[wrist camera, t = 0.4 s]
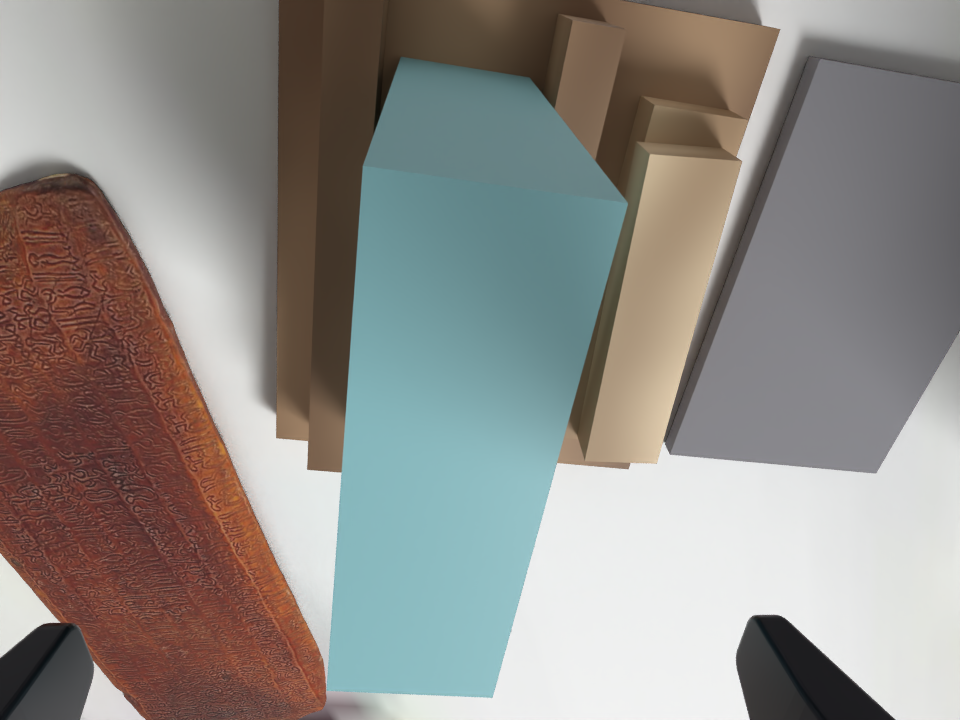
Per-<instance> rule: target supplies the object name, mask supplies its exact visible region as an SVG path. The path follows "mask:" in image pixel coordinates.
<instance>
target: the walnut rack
mask: <svg viewBox="0 0 960 720" xmlns="http://www.w3.org/2000/svg"><path fill="white" fill-rule="evenodd" d="M779 31H780V29H776V28H771V27H767V26H762V25H756V24H751V23H745V22H740V21H734V20H729V19H723V18H718V17H712V16H706V15H701V14H695V13H690V12H684V11H679V10H673V9H668V8H662V7H657V6H651V5H646V4H640V3H635V2H629V1H624V0H279V75H278V246H277V416H276V438H281V439H292V440H303V441H308V466H307V470H318V471H330V472H342V461H343V446H344V432H345V417H346V403H347V389H348V374H349V360H350V345H351V331H352V316H353V302H354V287H355V273H356V259H357V244H358V230H359V215H360V201H361V186H362V172H363V164H364V161H365V158H366V156H367V153H368V150H369V147H370V144H371V141H372V138H373V136H374V133H375V130H376V127H377V124H378V121H379V118H380V115H381V113H382V110H383V107H384V104H385V101H386V98H387V95H388V93H389V90H390V87H391V84H392V81H393V78H394V75H395V72H396V70H397V67H398V64H399V61H400V58H401V57H406V58H412V59H419V60H425V61H431V62H437V63H443V64H449V65H455V66H462V67H468V68H474V69H480V70H486V71H492V72H498V73H504V74H511V75H517V76H523V77H529V78H530V79H531V80H532V81H533V82H534V84H535V85H536V86H537V88H538V89H539V90H540V91H541V93H542V94H543V95H544V96H545V98H546V99H547V100H548V102H549V103H550V104H551V105H552V107H553V108H554V109H555V111H556V112H557V113H558V114H559V116H560V117H561V118H562V119H563V121H564V122H565V123H566V125H567V126H568V127H569V128H570V130H571V131H572V132H573V133H574V135H575V136H576V137H577V139H578V140H579V141H580V142H581V144H582V145H583V146H584V147H585V149H586V150H587V151H588V153H589V154H590V155H591V156H592V158H593V159H594V160H595V162H596V163H597V164H598V165H599V167H600V168H601V169H602V170H603V172H604V173H605V174H606V176H607V177H608V178H609V179H610V181H611V182H612V183H613V184H614V186H615V187H616V188H617V185H618V181H619V177H620V174H621V170H622V166H623V162H624V158H625V155H626V151H627V147H628V143H629V139H630V136H631V132H632V128H633V124H634V120H635V117H636V113H637V109H638V105H639V101H640V97H641V96H646V97H652V98H658V99H664V100H670V101H676V102H682V103H689V104H695V105H701V106H707V107H713V108H719V109H725V110H730V111H732V112H734V113H736V114H738V115H740V116H742V117H744V118H746V119H747V120H749V118H750V115H751V113H752V110H753V107H754V104H755V101H756V98H757V95H758V92H759V89H760V86H761V84H762V81H763V78H764V75H765V72H766V69H767V66H768V63H769V60H770V57H771V55H772V52H773V49H774V46H775V43H776V40H777V37H778V34H779ZM745 130H746V129H745ZM744 133H745V132H744ZM743 136H744V135H743ZM742 139H743V138H742ZM736 156H737V155H736ZM557 463H564V464H575V465H587V466H598V467H609V468H621V469H629V466H630V463H623V462H592V461H585V460H584V457H583V453H582V450H581V447H580V443H579V440H578V439H571V438H564V439H563V443H562V446H561V450H560V454H559V457H558V461H557Z"/></svg>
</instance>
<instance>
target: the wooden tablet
mask: <svg viewBox="0 0 960 720" xmlns="http://www.w3.org/2000/svg"><path fill="white" fill-rule="evenodd" d="M0 553H1V554H2V556H3V557H4V558H5V559H6V560H7V561H8V563H9V564H10V565H11V566H12V567H13V568H14V569H15V570H16V571H17V573H18V574H19V575H20V576H21V577H22V579H23V580H24V581H25V582H26V583H27V584H28V585H29V587H30V588H31V589H32V590H33V591H34V593H35V594H36V595H37V596H38V598H39V599H40V600H41V601H42V602H43V603H44V605H45V606H46V607H47V608H48V609H49V610H50V611H51V613H52V614H53V615H54V616H55V617H56V618H57V619H58V620H59V621H60V622H61V623H75V624H76V625H78V626H79V627H80V629H81V632H82V634H83V637H84V639H85V642H86V644H87V647H88V649H89V652H90V654H91V657H92V659H93V661H94V662H95V663H96V664H97V665H98V666H99V668H100V669H101V670H102V672H103V673H104V674H105V675H106V676H107V677H108V679H109V680H110V681H111V682H112V684H113V685H114V686H115V687H116V688H117V689H119V690H120V691H122V692H123V693H124V697H125V698H126V699H127V700H128V701H129V702H130V703H131V704H132V705H133V707H134V708H135V709H136V710H137V711H138V712H139V714H140V715H141V716H143V717H144V718H145V719H146V720H297V719H299V718H301V717H304V716H306V715H308V714H310V713H313V712H316V711H319V710H322V709H323V707H324V706H325V702H326V683H325V671H324V663H323V658H322V656H321V654H320V651H319V649H318V646H317V644H316V642H315V640H314V638H313V636H312V634H311V632H310V630H309V628H308V626H307V624H306V622H305V620H304V618H303V616H302V614H301V612H300V610H299V607H298V605H297V603H296V600H295V598H294V596H293V595H292V592H291V590H290V588H289V586H288V585H287V583H286V580H285V578H284V576H283V574H282V573H281V571H280V570H279V567H278V565H277V563H276V561H275V558H274V556H273V554H272V552H271V551H270V548H269V546H268V543H267V541H266V539H265V536H264V534H263V532H262V530H261V528H260V526H259V524H258V522H257V520H256V517H255V515H254V512H253V510H252V508H251V505H250V503H249V501H248V499H247V497H246V495H245V492H244V490H243V488H242V486H241V483H240V481H239V478H238V476H237V474H236V471H235V469H234V467H233V464H232V462H231V459H230V456H229V454H228V451H227V449H226V446H225V444H224V442H223V440H222V439H221V437H220V435H219V433H218V431H217V429H216V426H215V424H214V422H213V420H212V418H211V415H210V413H209V411H208V408H207V406H206V403H205V401H204V398H203V396H202V394H201V392H200V389H199V387H198V385H197V383H196V381H195V379H194V377H193V374H192V372H191V370H190V367H189V365H188V362H187V360H186V357H185V354H184V351H183V349H182V347H181V345H180V343H179V340H178V337H177V335H176V332H175V329H174V325H173V323H172V321H171V320H170V318H169V317H168V315H167V312H166V310H165V308H164V306H163V304H162V301H161V299H160V296H159V294H158V292H157V289H156V287H155V285H154V282H153V280H152V278H151V276H150V274H149V272H148V270H147V268H146V266H145V264H144V262H143V261H142V259H141V257H140V255H139V253H138V251H137V249H136V247H135V245H134V243H133V242H132V240H131V238H130V236H129V234H128V232H127V231H126V229H125V228H124V227H123V225H122V224H121V222H120V220H119V217H118V215H117V214H116V213H115V211H114V210H113V209H112V207H111V206H110V204H109V203H108V202H107V200H106V199H105V197H104V194H103V193H102V191H101V190H100V189H99V188H98V187H97V185H96V184H95V183H94V182H93V181H91V180H90V179H88V178H85V177H81V176H79V175H77V174H70V173H65V174H55V175H51V176H47V177H44V178H41V179H38V180H36V181H33V182H29V183H25V184H21V185H18V186H15V187H12V188H9V189H5V190H3V191H1V192H0Z"/></svg>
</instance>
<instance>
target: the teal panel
mask: <svg viewBox="0 0 960 720" xmlns="http://www.w3.org/2000/svg"><path fill="white" fill-rule="evenodd" d="M627 206H628V202H627V201H626V200H625V198H624V197H623V196H622V195H621V193H620V192H619V191H618V190H617V188H616V187H615V186H614V184H613V183H612V182H611V181H610V179H609V178H608V177H607V176H606V174H605V173H604V172H603V170H602V169H601V168H600V167H599V165H598V164H597V163H596V162H595V160H594V159H593V158H592V156H591V155H590V154H589V153H588V151H587V150H586V149H585V147H584V146H583V145H582V144H581V142H580V141H579V140H578V139H577V137H576V136H575V135H574V133H573V132H572V131H571V130H570V128H569V127H568V126H567V125H566V123H565V122H564V121H563V119H562V118H561V117H560V116H559V114H558V113H557V112H556V111H555V109H554V108H553V107H552V105H551V104H550V103H549V102H548V100H547V99H546V98H545V96H544V95H543V94H542V93H541V91H540V90H539V89H538V88H537V86H536V85H535V84H534V82H533V81H532V80H531V79H530V78H529V77H523V76H517V75H511V74H504V73H498V72H492V71H486V70H480V69H474V68H468V67H462V66H455V65H449V64H443V63H437V62H431V61H425V60H419V59H412V58H406V57H401V58H400V61H399V64H398V67H397V70H396V72H395V75H394V78H393V81H392V84H391V87H390V90H389V93H388V95H387V98H386V101H385V104H384V107H383V110H382V113H381V115H380V118H379V121H378V124H377V127H376V130H375V133H374V136H373V138H372V141H371V144H370V147H369V150H368V153H367V156H366V158H365V161H364V164H363V172H362V186H361V201H360V215H359V230H358V244H357V259H356V273H355V287H354V302H353V316H352V331H351V345H350V360H349V374H348V389H347V403H346V417H345V432H344V446H343V461H342V475H341V490H340V504H339V519H338V533H337V548H336V562H335V576H334V591H333V605H332V620H331V634H330V649H329V663H328V678H327V691H344V692H368V693H392V694H416V695H440V696H464V697H488V698H492V697H493V694H494V690H495V687H496V683H497V679H498V676H499V672H500V668H501V665H502V661H503V657H504V654H505V650H506V647H507V643H508V639H509V636H510V632H511V628H512V625H513V621H514V617H515V614H516V610H517V606H518V603H519V599H520V596H521V592H522V588H523V585H524V581H525V577H526V574H527V570H528V566H529V563H530V559H531V556H532V552H533V548H534V545H535V541H536V537H537V534H538V530H539V526H540V523H541V519H542V515H543V512H544V508H545V505H546V501H547V497H548V494H549V490H550V486H551V483H552V479H553V475H554V472H555V468H556V465H557V461H558V457H559V454H560V450H561V446H562V443H563V439H564V435H565V432H566V428H567V424H568V421H569V417H570V414H571V410H572V406H573V403H574V399H575V395H576V392H577V388H578V384H579V381H580V377H581V374H582V370H583V366H584V363H585V359H586V355H587V352H588V348H589V344H590V341H591V337H592V333H593V330H594V326H595V323H596V319H597V315H598V312H599V308H600V304H601V301H602V297H603V293H604V290H605V286H606V283H607V279H608V275H609V272H610V268H611V264H612V261H613V257H614V253H615V250H616V246H617V242H618V239H619V235H620V232H621V228H622V224H623V221H624V217H625V213H626V210H627Z"/></svg>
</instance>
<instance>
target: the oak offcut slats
mask: <svg viewBox="0 0 960 720" xmlns="http://www.w3.org/2000/svg"><path fill="white" fill-rule="evenodd" d="M748 121H749V120H747V119H746V118H744V117H742V116H740V115H738V114H736V113H734V112H732V111H730V110H725V109H719V108H713V107H707V106H701V105H695V104H689V103H682V102H676V101H670V100H664V99H658V98H652V97H646V96H641V97H640V101H639V105H638V109H637V113H636V117H635V120H634V124H633V128H632V132H631V136H630V139H629V143H628V147H627V151H626V155H625V158H624V162H623V166H622V170H621V174H620V177H619V181H618V185H617V190H618V191H619V192H620V193H621V195H622V196H623V197H624V198H625V200H626V201H627V202H628V206H627V210H626V213H625V217H624V221H623V224H622V228H621V232H620V235H619V239H618V242H617V246H616V250H615V253H614V257H613V261H612V264H611V268H610V272H609V275H608V279H607V283H606V286H605V290H604V293H603V297H602V301H601V304H600V308H599V312H598V315H597V319H596V323H595V326H594V330H593V333H592V337H591V341H590V344H589V348H588V352H587V355H586V359H585V363H584V366H583V370H582V374H581V377H580V381H579V384H578V388H577V392H576V395H575V399H574V403H573V406H572V410H571V414H570V417H569V421H568V424H567V428H566V432H565V435H564V438H571V439H578V440H579V443H580V447H581V450H582V453H583V457H584V460H585V461H592V462H623V463H654V464H657V461H658V457H659V454H660V450H661V447H662V443H663V440H664V436H665V433H666V429H667V425H668V422H669V418H670V415H671V411H672V408H673V404H674V401H675V397H676V394H677V390H678V387H679V383H680V379H681V376H682V372H683V369H684V365H685V362H686V358H687V355H688V351H689V348H690V344H691V341H692V337H693V333H694V330H695V326H696V323H697V319H698V316H699V312H700V309H701V305H702V302H703V298H704V294H705V291H706V287H707V284H708V280H709V277H710V273H711V270H712V266H713V263H714V259H715V256H716V252H717V248H718V245H719V241H720V238H721V234H722V231H723V227H724V224H725V220H726V217H727V213H728V210H729V206H730V202H731V199H732V195H733V192H734V188H735V185H736V181H737V178H738V174H739V171H740V167H741V164H742V161H741V160H740V159H738V158H737V157H736V155H737V153H738V150H739V147H740V144H741V141H742V138H743V135H744V132H745V129H746V127H747V124H748Z"/></svg>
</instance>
